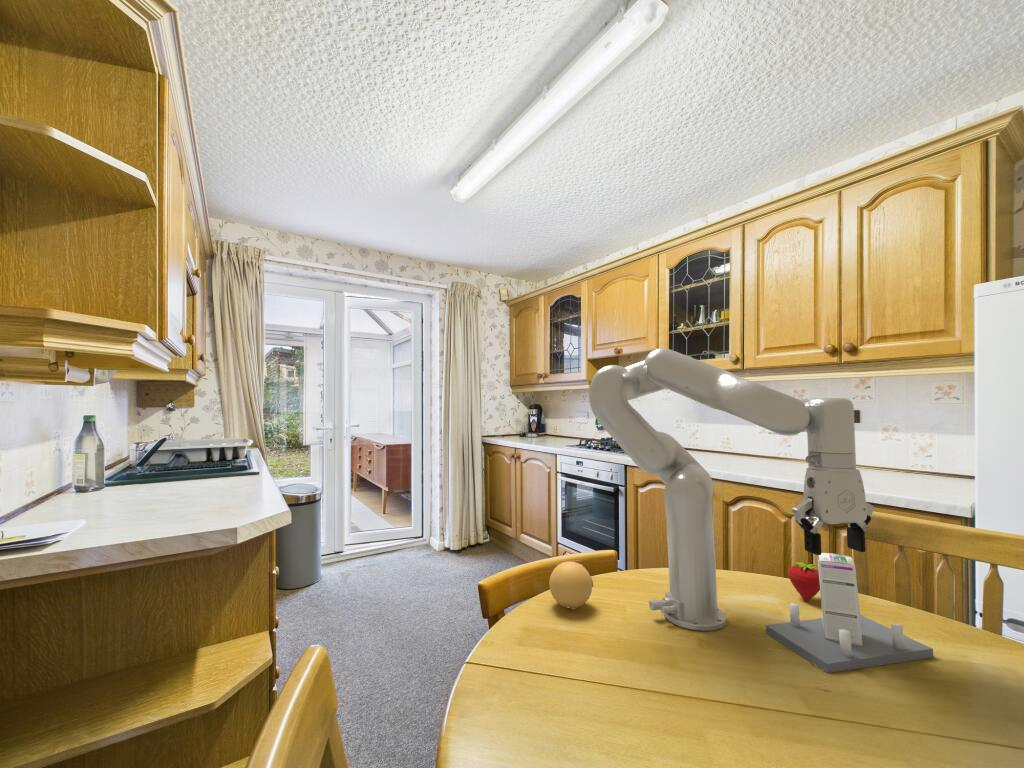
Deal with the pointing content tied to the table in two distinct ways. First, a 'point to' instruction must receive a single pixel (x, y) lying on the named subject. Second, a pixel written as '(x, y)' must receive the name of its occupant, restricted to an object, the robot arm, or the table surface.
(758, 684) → the table surface
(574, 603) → the stress ball
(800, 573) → the strawberry
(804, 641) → the plate
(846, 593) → the syrup box
